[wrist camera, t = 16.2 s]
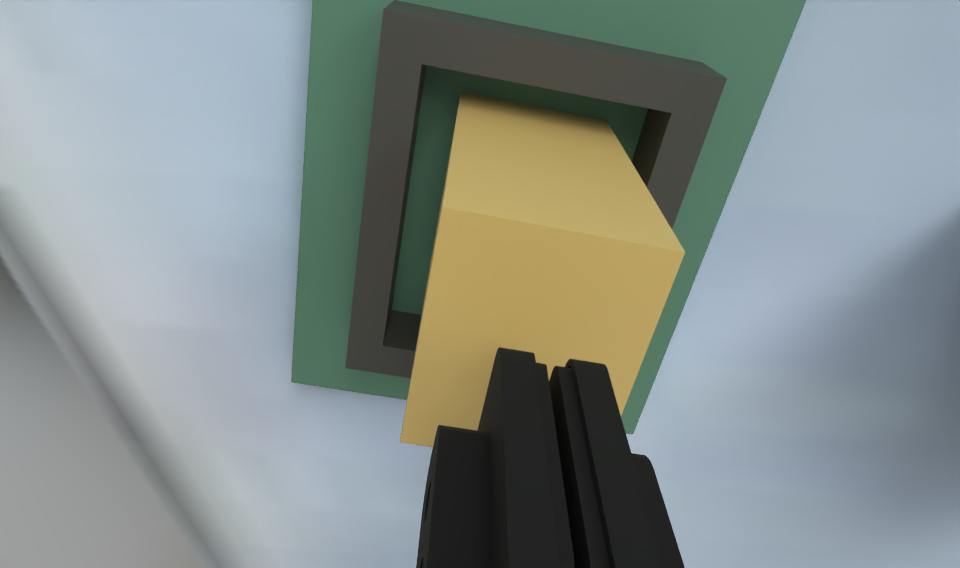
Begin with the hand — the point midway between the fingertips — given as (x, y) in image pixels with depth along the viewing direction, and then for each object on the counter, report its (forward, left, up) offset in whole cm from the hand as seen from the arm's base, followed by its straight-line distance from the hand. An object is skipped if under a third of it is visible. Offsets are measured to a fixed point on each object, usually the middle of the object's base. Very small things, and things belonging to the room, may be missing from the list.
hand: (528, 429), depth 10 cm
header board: (0, 0, -11) cm, 11 cm away
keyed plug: (0, 0, -10) cm, 10 cm away
